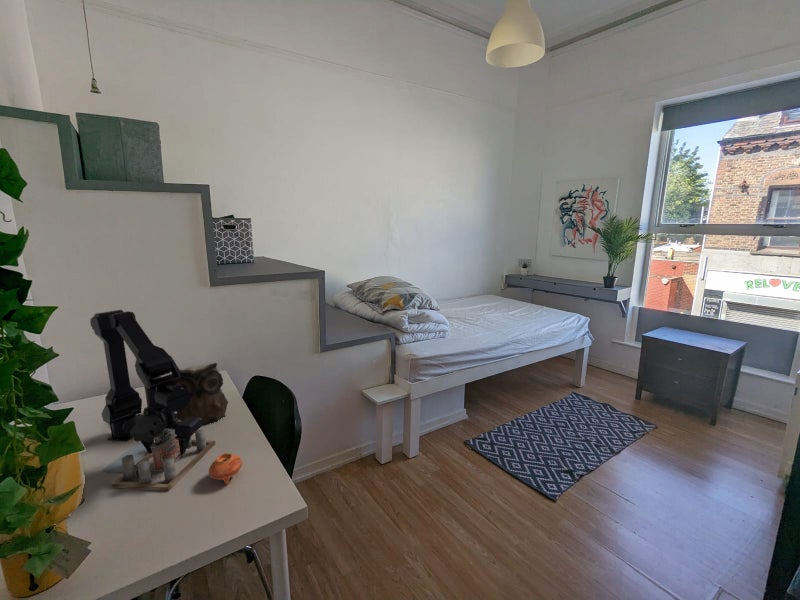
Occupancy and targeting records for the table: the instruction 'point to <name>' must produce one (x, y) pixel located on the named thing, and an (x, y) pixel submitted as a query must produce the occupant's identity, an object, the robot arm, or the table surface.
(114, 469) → the mat
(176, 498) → the table surface
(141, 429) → the robot arm
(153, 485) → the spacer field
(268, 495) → the table surface
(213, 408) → the owl
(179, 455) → the lighter
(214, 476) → the pot
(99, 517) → the table surface
